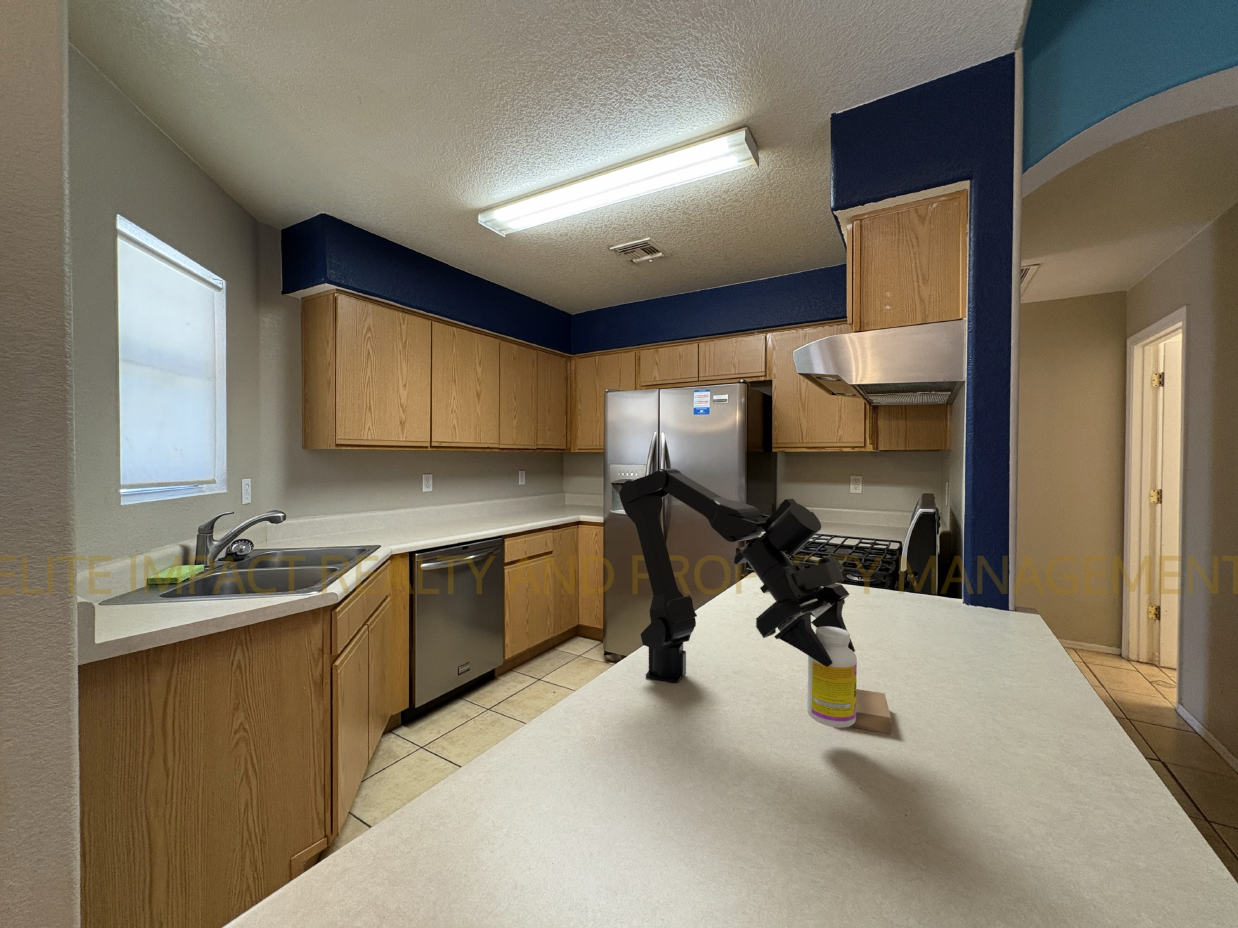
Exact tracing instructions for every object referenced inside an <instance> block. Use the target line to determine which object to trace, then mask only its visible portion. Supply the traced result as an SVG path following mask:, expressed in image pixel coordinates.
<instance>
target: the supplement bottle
mask: <svg viewBox="0 0 1238 928" xmlns="http://www.w3.org/2000/svg"><path fill="white" fill-rule="evenodd" d="M815 634H816V635H817V637H818V639H819V640H820V642H821V643H822V645H823V646H824V648H825V650H826V651H827V653H828V655H829V657H830V658H831V660H832V664H831V665H830V666H828V667H826V666H824V665H823V664H821V663H819V662H818V661H816V660H815V659H813V658H811V657H810V656H808V655H807V657H808V659H807V664H808V665H807V713H808V715H809V716H810V718H811V719H812V720H814V721H815V722H817V723H819V724H821V725H823V726H827V727H830V728H831V727H832V728H840V729H841V728H848V727H849V726H851V725H853V724H854V723H855V720H856V689H857V677H858V676H857V668H858V667H857V663H858V662H857V656H856V655H857V654H856V652H853V651H852V650H851V649H849V648H848V644H849V642H850V639H851V633H850V631H848V630H847V631H846V630H844V629H841V628H836V627H828V626H824V627H818V628H817V627H816V628H815ZM849 728H850V727H849Z"/></svg>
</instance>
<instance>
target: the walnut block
mask: <svg viewBox="0 0 1238 928" xmlns="http://www.w3.org/2000/svg"><path fill="white" fill-rule="evenodd" d="M849 728H856V729H861V730H862V729H863V730H867V731H874V732H879V733H884V734H889V735H890V734H892V717H891V713H890V709H889V705H888V701H887V697H886V693H885V692H878V691H872V690H871V691H870V690H864V689H858V688H856V720H855V723H854V724H853V725H851V726H849Z"/></svg>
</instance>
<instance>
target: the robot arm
mask: <svg viewBox="0 0 1238 928" xmlns="http://www.w3.org/2000/svg"><path fill="white" fill-rule="evenodd" d="M669 495H670V496H672V497H673V498H675V499H676V500H678V501H680V502H681V503H683V504H684V505H686V506H687V507H689V508H691V509H692V510H694V511H695V512H697V513H698V514H700V515H702V516H703V517H704V518H705V519H706V520H708V522H709V526H710V527H711V528H712V529H711V530H713V531H715V532H716V533H717V534H718V535H719V536H720V537H721V538H722V539H723V540H725V541H726V542H729V543H735V542H737V543H738V542H741V541H743V542H744V541H747V540H749V541H748V542H747V543H746V544H745V546H739V547H738V546H737V547H736V548H735V554H734V559H733V562H734V565H740V564H745V563H748V565H749V566H750V567H751V569H752V570H753V572H754V573H755V575H756V576H757V577H758V578H759V580H760V581H761V583H762V586H761V587H759V589H760V591H761V592H762V593H763V594H767V593H769V595H770V596H771V597H772V598H773V599H774V602H773V603H772V604H770V606H769V607H768V608H766V610H764V611H763V612H761V613H760V614H759V615H758V616H757V617H756V618H755V628H756V630H757V632H759V634H760V635H761V636H762V638H763V639H765V638H768V637H771V636H772V635H774V636H773V637H774V638H775V639H776V640H781V641H783V642H784V643H786V644H788V645H790V646H792V647H793V648H795V649H797V650H798V651H801V652H802V653H804V654H805V655H807V657H808V656H810V657H811V658H813V659H815V660H816V661H818V662H819V663H821V664H823V665H824V666H826V667H828V666H830V665H831V664H832V660H831V658H830V657H829V655H828V653H827V651H826V650H825V648H824V646H823V645H822V643H821V642H820V640H819V639H818V637H817V635H816V631H814V629H813V626H814V627H816V628H818V627H824V626H828V627H836V628H841V629H844V630H846V631H848V629H847V626H846V624H845V621H844V618H843V609H844V605H845V604H846V600H845V599H846V598H848V597H849V596H850V593H849V592H848V590H847V589H846V588H845V586H843V584H840V582H844V581H845V579H844V577H843V571H844V569H845V566H844V565H843V564H842V563H840V561H839V559H836V558H835V557H834V555H828V556H825V557H822V558H818V560H817V561H818V562H817V563H818V564H817V565H814V566H811V567H808V568H806V567H805V566H804V565H803V564H802V563H793V562H792V560H791V559H790V557H788V555H787V554H786V552H787V553H791V554H796V553H797V552H798V551H799V550H800V549H802V547H804V546H805V545H806V544H807V543H808V542H809V541H810V540H811V539H812V538H813V537H814V536H816V534H817V533H819V532H820V531H821V529H822V524H821V521H820V520H819V518H818V517H817V515H816V514H815V513H814V511H811V510H809V509H808V508H807V507H806V506H803V505H802V504H800V503H797V501H795V499H794V498H785V499H784V500H782V502H781V503H780V504H779V506H778V507H777V509H775V511H774V512H773V513H772V514H771V515H767V514H764V513H762V512H761V510H760V509H759V508H757V507H756V506H754V505H750V504H747V503H745V502H741V501H738V500H732V499H728V498H726V497H725V498H724V497H722V496H720V494H717V493H716V492H714V491H712V490H710V489H709V488H707V487H705V486H703V485H702V484H700V483H699V482H696V481H695V480H693V479H692V478H690V477H688V476H687V475H685V474H683V473H682V472H681V471H680V470H678V469H676V468H659V469H658V470H655V472H652V473H650V474H647V475H645V476H642V477H639V478H635V479H628V480H625V482H624V483H623V484H622V486H621V488H620V490H619V501H620V503H621V505H622V507H623V511H624V513H625V515H627V517H629V519H630V520H631V521H632V522H633V524H634V525H635V527H636V530H637V531H636V532H637V535H638V539H639V544H640V547H641V551H642V555H643V560H644V563H645V567H646V572H647V575H648V580H649V582H650V587H651V592H652V599H651V604H650V608H649V618H650V623H649V625H647V626H646V627H645V629H644V630H643V631H642V632H641V633H640V639H641V642H642V645H643V646H645V647H647V648H648V671H647V672H646V674H645V678H646V679H653V680H659V681H664V682H670V683H679V681H680V680H681V678H683V676H684V675H685V673H686V671H687V651H686V650H685V649H684V643H686V642H689V641H690V638H691V635H692V633H693V632H694V630H695V627H697V626H696V625H697V623H696V622H697V621H696V617H698V614H697V613H696V610H695V608H694V604H693V598H692V597H691V595H687V596H684V594H683V593H682V592H681V591H680V590H679V588H678V584H677V581H676V577H675V573H674V569H673V566H672V562H671V559H670V555H669V550H668V546H667V543H666V540H665V535H664V532H663V528H662V525H661V520H660V517H661V514H662V510H663V506H664V504H663V502H664V501H663V498H665V497H667V496H669ZM762 533H763V534H762ZM761 534H762V535H761ZM759 536H760V537H759ZM836 582H837V583H836ZM812 617H813V618H815V619H813V620H812ZM812 625H813V626H812ZM777 629H778V631H779V632H778V633H777V631H776V630H777ZM848 648H849V649H851V650H852V651H853V652H854V653H856V650H855V647H854V644H853V641H852V639H851V638H850V642H849V644H848Z"/></svg>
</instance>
